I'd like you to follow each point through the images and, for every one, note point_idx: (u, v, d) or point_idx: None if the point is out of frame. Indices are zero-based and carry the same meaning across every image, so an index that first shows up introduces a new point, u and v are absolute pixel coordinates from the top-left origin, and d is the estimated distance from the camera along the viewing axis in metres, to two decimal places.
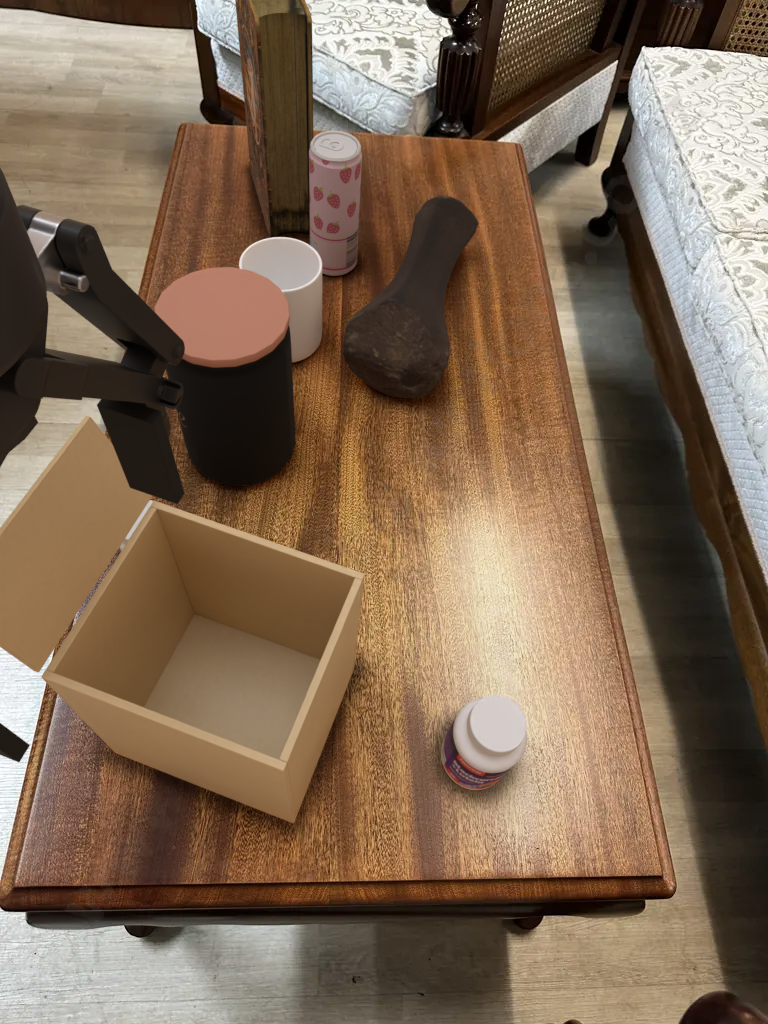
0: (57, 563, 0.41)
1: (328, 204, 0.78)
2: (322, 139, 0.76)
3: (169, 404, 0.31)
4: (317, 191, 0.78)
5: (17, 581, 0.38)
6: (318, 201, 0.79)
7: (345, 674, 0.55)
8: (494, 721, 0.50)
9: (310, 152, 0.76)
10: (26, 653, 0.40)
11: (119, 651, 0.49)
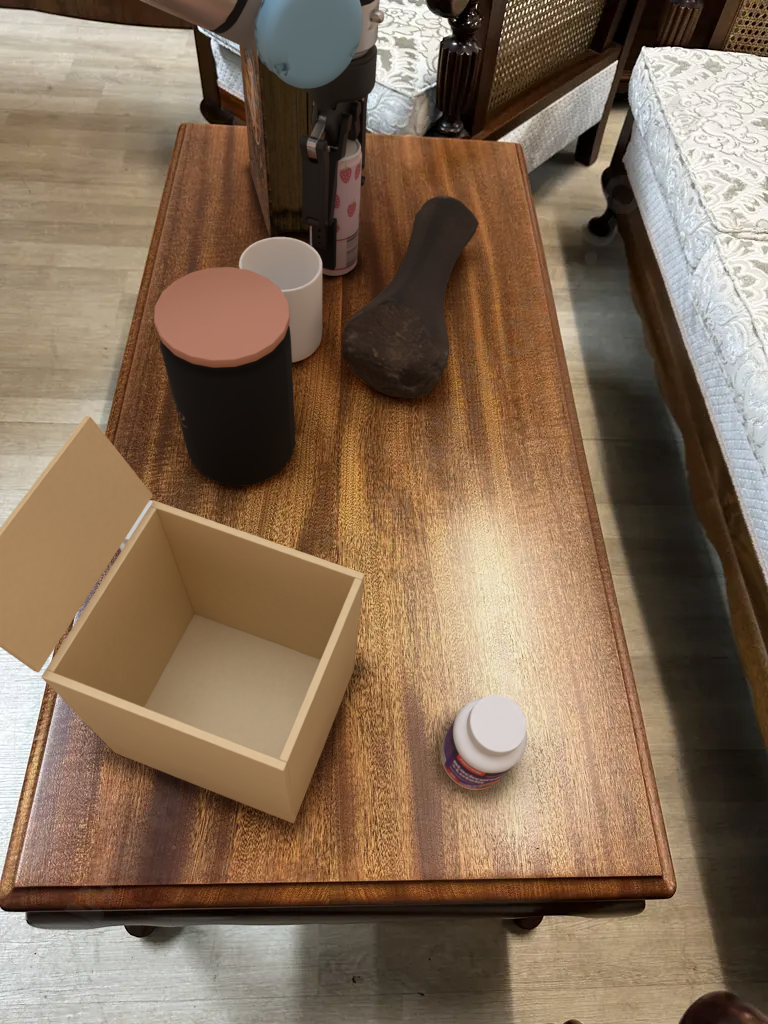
0: (57, 563, 0.41)
1: None
2: None
3: None
4: None
5: (17, 581, 0.38)
6: None
7: (345, 674, 0.55)
8: (494, 721, 0.50)
9: None
10: (26, 653, 0.40)
11: (119, 651, 0.49)
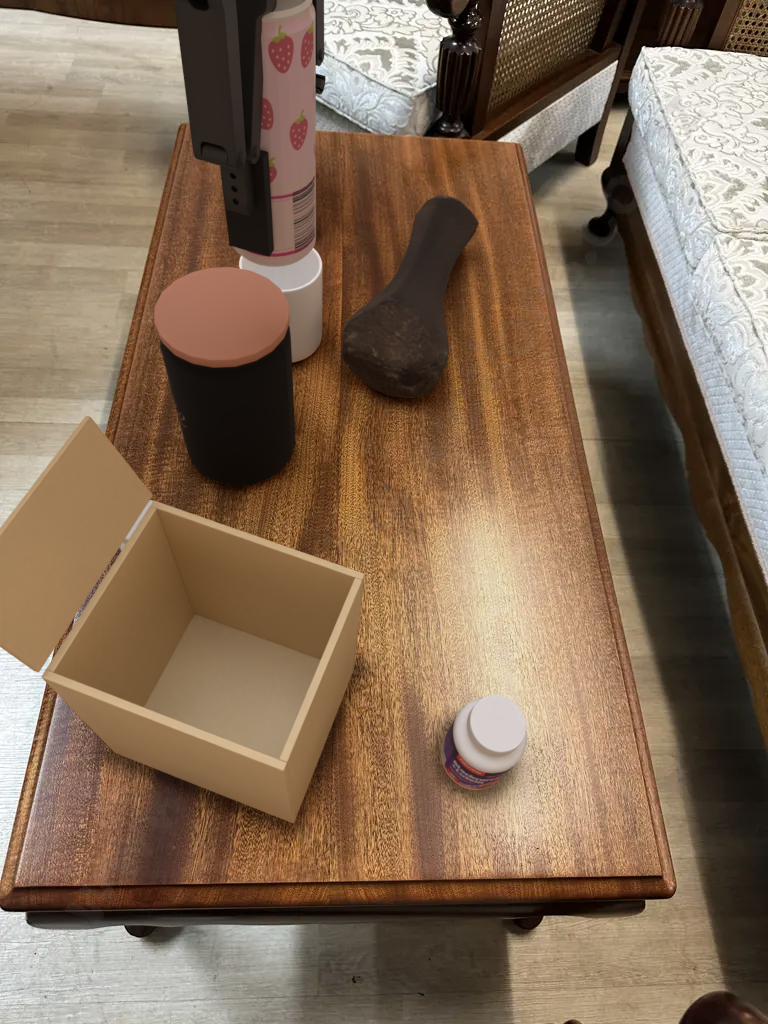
0: (57, 563, 0.41)
1: None
2: None
3: None
4: None
5: (17, 581, 0.38)
6: None
7: (345, 674, 0.55)
8: (494, 721, 0.50)
9: None
10: (26, 653, 0.40)
11: (119, 651, 0.49)
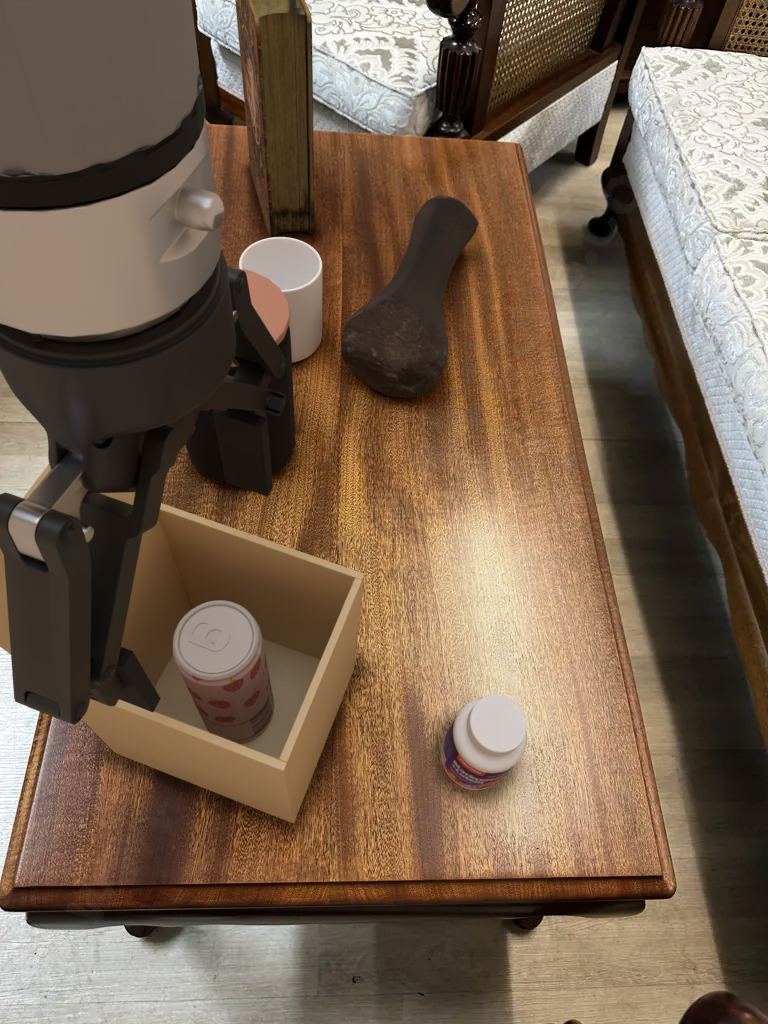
0: None
1: (211, 705, 0.48)
2: (195, 622, 0.46)
3: (274, 412, 0.37)
4: (192, 691, 0.47)
5: None
6: (196, 698, 0.48)
7: (345, 674, 0.55)
8: (494, 721, 0.50)
9: (174, 649, 0.45)
10: None
11: None
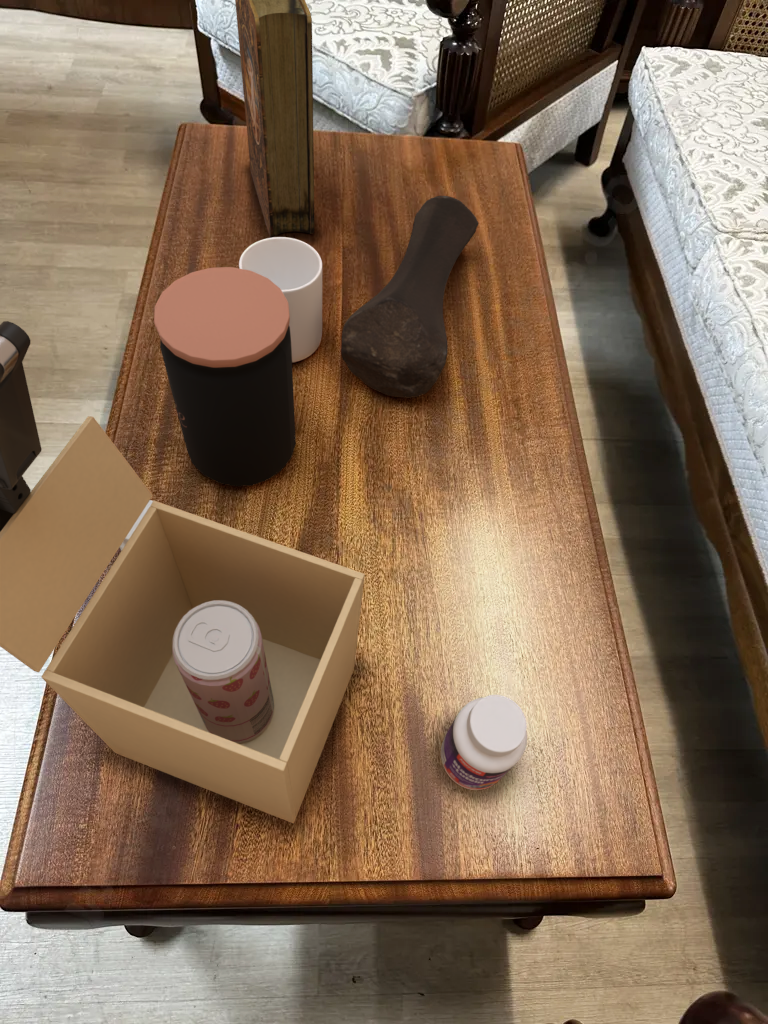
0: (58, 563, 0.41)
1: (210, 705, 0.48)
2: (195, 622, 0.46)
3: None
4: (191, 691, 0.47)
5: (19, 582, 0.38)
6: (195, 698, 0.48)
7: (345, 674, 0.55)
8: (494, 721, 0.50)
9: None
10: (27, 653, 0.39)
11: (119, 651, 0.49)
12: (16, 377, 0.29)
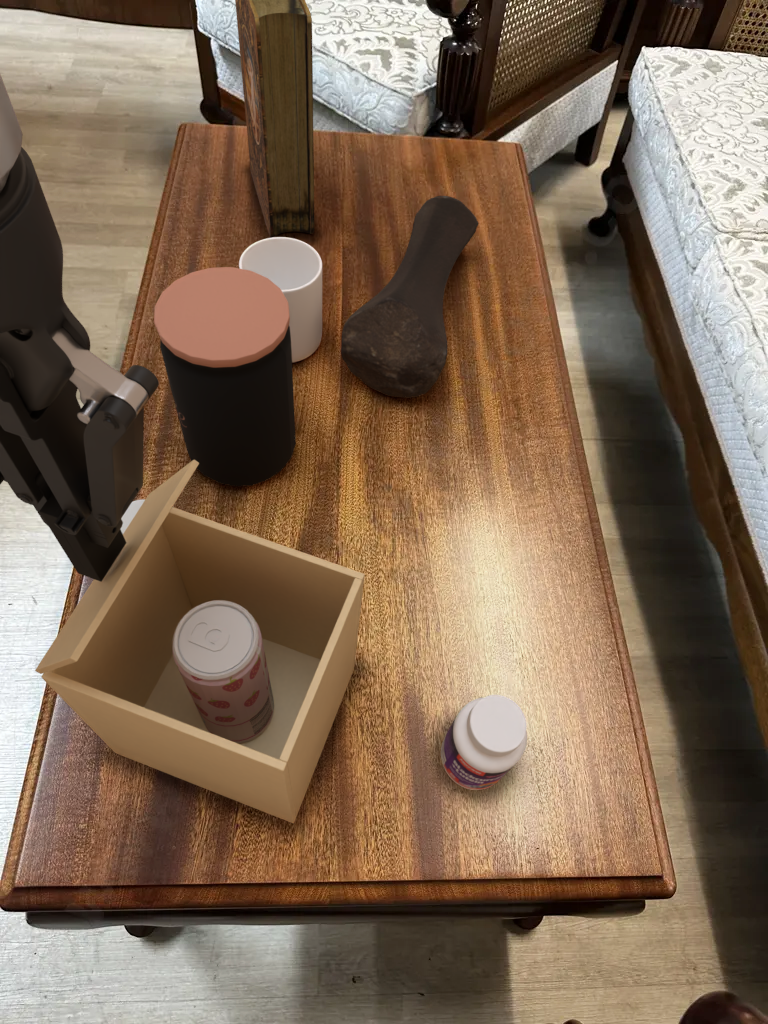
0: None
1: (210, 705, 0.48)
2: (195, 622, 0.46)
3: (60, 520, 0.34)
4: (191, 691, 0.47)
5: None
6: (195, 698, 0.48)
7: (345, 674, 0.55)
8: (494, 721, 0.50)
9: None
10: None
11: (119, 651, 0.49)
12: (137, 418, 0.29)
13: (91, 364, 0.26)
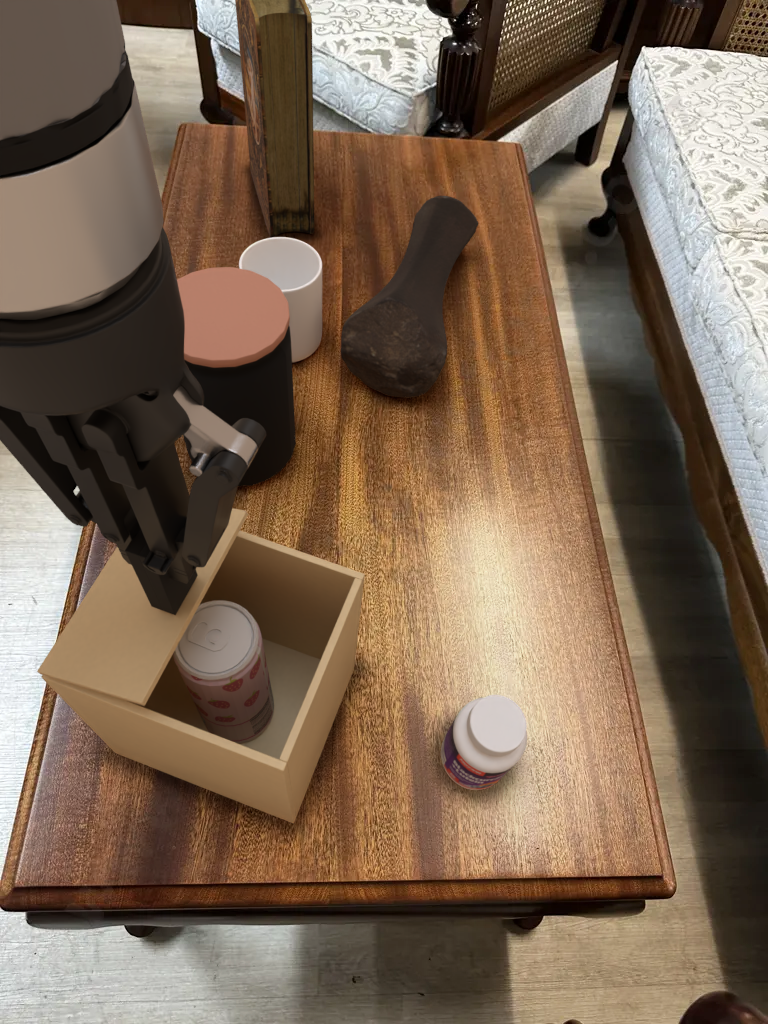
0: None
1: (210, 705, 0.48)
2: (195, 622, 0.46)
3: (148, 561, 0.34)
4: (191, 691, 0.47)
5: None
6: (195, 698, 0.48)
7: (345, 674, 0.55)
8: (494, 721, 0.50)
9: None
10: None
11: None
12: None
13: (206, 419, 0.26)
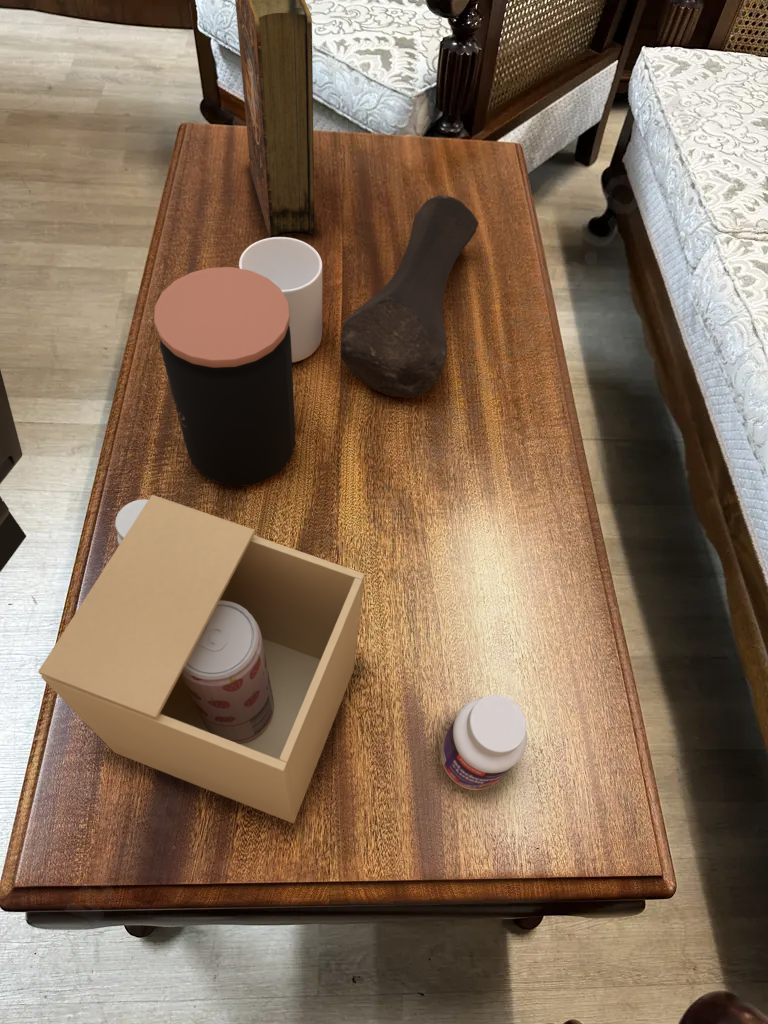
0: None
1: (210, 705, 0.48)
2: None
3: None
4: (191, 691, 0.47)
5: None
6: (195, 698, 0.48)
7: (345, 674, 0.55)
8: (494, 721, 0.50)
9: None
10: None
11: None
12: None
13: None
